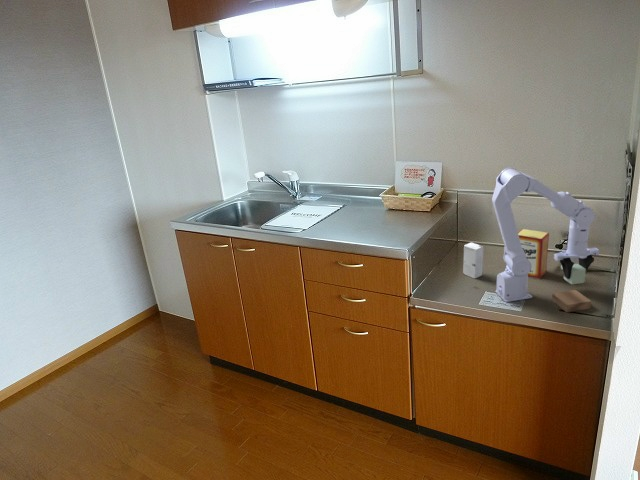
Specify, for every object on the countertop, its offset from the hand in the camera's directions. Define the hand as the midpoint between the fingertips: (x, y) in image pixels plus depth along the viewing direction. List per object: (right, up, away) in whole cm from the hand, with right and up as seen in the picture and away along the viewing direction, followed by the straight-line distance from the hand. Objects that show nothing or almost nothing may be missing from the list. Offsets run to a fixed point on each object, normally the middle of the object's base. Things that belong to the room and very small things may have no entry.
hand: (574, 276), depth 156 cm
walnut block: (-4, -9, -6) cm, 11 cm away
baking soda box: (-7, 0, +17) cm, 19 cm away
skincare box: (-27, -1, +21) cm, 34 cm away
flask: (+8, +1, +17) cm, 18 cm away
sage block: (0, -1, +1) cm, 1 cm away
